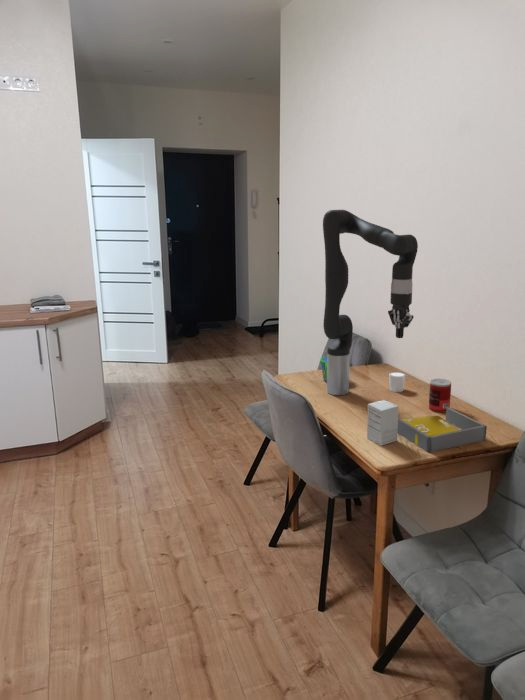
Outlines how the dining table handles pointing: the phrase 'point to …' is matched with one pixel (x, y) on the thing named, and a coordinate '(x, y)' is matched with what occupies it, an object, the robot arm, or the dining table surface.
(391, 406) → the white rectangular box
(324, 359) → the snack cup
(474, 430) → the box
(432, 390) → the canned food
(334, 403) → the dining table surface
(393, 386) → the white piece
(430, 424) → the element tile
